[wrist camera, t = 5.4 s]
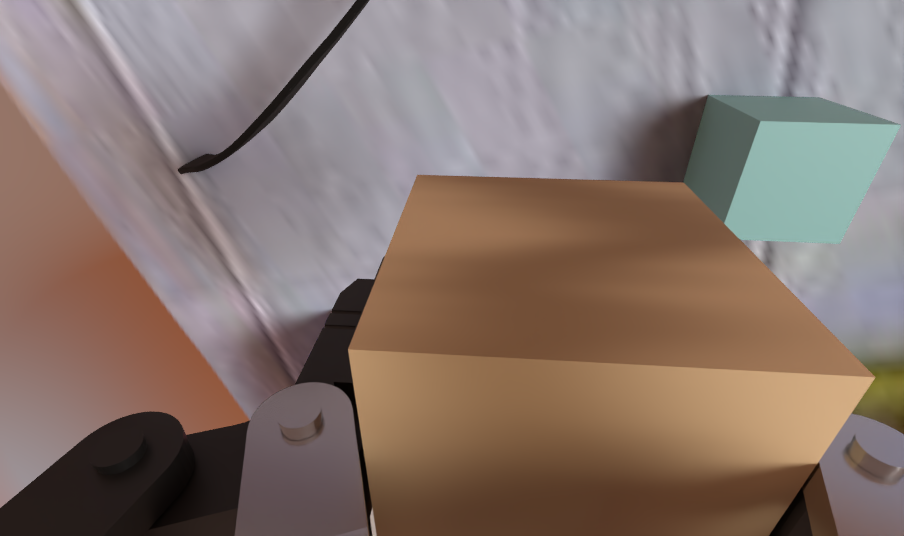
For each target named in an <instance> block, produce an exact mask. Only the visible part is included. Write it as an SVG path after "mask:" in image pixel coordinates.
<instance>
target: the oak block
mask: <svg viewBox="0 0 904 536" xmlns="http://www.w3.org/2000/svg"><path fill="white" fill-rule="evenodd" d="M348 353H349V359H350V366H351V372H352V379H353V385H354V392H355V398H356V405H357V411H358V418H359V424H360V431H361V437H362V444H363V450H364V457H365V463H366V470H367V476H368V483H369V489H370V496H371V502H372V509H373V515H374V522H375V528H376V535H377V536H769V535H770V533H771V532H772V530H773V529H774V527H775V526H776V524H777V523H778V521H779V520H780V518H781V517H782V515H783V514H784V512H785V511H786V510H787V508H788V507H789V505H790V504H791V502H792V501H793V499H794V498H795V496H796V495H797V493H798V492H799V490H800V489H801V487H802V486H803V484H804V483H805V481H806V480H807V478H808V477H809V475H810V474H811V472H812V471H813V469H814V468H815V466H816V465H817V463H818V462H819V460H820V459H821V458H822V456H823V455H824V453H825V452H826V450H827V449H828V447H829V446H830V444H831V443H832V441H833V440H834V438H835V437H836V435H837V434H838V432H839V431H840V429H841V428H842V426H843V425H844V423H845V422H846V420H847V419H848V417H849V416H850V414H851V413H852V411H853V410H854V408H855V407H856V405H857V404H858V403H859V401H860V400H861V398H862V397H863V395H864V394H865V392H866V391H867V389H868V388H869V386H870V385H871V383H872V382H873V380H874V379H875V376H874V375H873V374H872V373H871V372H870V371H869V370H868V369H867V368H866V367H865V366H864V365H863V364H862V363H861V362H860V361H859V360H858V359H857V358H856V357H855V356H854V355H853V354H852V353H851V352H850V351H849V350H848V349H847V348H846V347H845V346H844V345H843V344H842V343H841V342H840V341H839V340H838V339H837V338H836V337H835V336H834V335H833V334H832V333H831V332H830V331H829V330H828V329H827V328H826V327H825V326H824V325H823V324H822V323H821V322H820V321H819V320H818V319H817V317H816V316H815V315H814V314H813V313H812V312H811V311H810V310H809V309H808V308H807V307H806V306H805V305H804V304H803V303H802V302H801V301H800V300H799V299H798V298H797V297H796V296H795V295H794V294H793V293H792V292H791V291H790V290H789V289H788V288H787V287H786V286H785V285H784V284H783V283H782V282H781V281H780V280H779V279H778V278H777V277H776V276H775V275H774V274H773V273H772V272H771V271H770V270H769V269H768V268H767V267H766V266H765V265H764V264H763V263H762V262H761V261H760V260H759V259H758V258H757V256H756V255H755V254H754V253H753V252H752V251H751V250H750V249H749V248H748V247H747V246H746V245H745V244H744V243H743V242H742V241H741V240H740V239H739V238H738V237H737V236H736V235H735V234H734V233H733V232H732V231H731V230H730V229H729V228H728V227H727V226H726V225H725V224H724V223H723V222H722V221H721V220H720V219H719V218H718V217H717V216H716V215H715V214H714V213H713V212H712V211H711V210H710V209H709V208H708V207H707V206H706V205H705V204H704V203H703V202H702V201H701V200H700V199H699V198H698V197H697V195H696V194H695V193H694V192H693V191H692V190H691V189H690V188H689V187H688V186H687V185H686V184H685V183H682V182H647V181H612V180H577V179H542V178H508V177H473V176H438V175H417V177H416V180H415V182H414V185H413V187H412V190H411V192H410V195H409V197H408V200H407V202H406V205H405V207H404V210H403V212H402V215H401V217H400V220H399V222H398V225H397V227H396V230H395V232H394V235H393V237H392V240H391V242H390V245H389V248H388V250H387V253H386V255H385V258H384V260H383V263H382V265H381V268H380V270H379V273H378V275H377V278H376V280H375V283H374V285H373V288H372V290H371V293H370V295H369V298H368V300H367V303H366V305H365V308H364V310H363V313H362V315H361V318H360V320H359V323H358V325H357V328H356V330H355V333H354V336H353V338H352V341H351V343H350V346H349V348H348Z"/></svg>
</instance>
